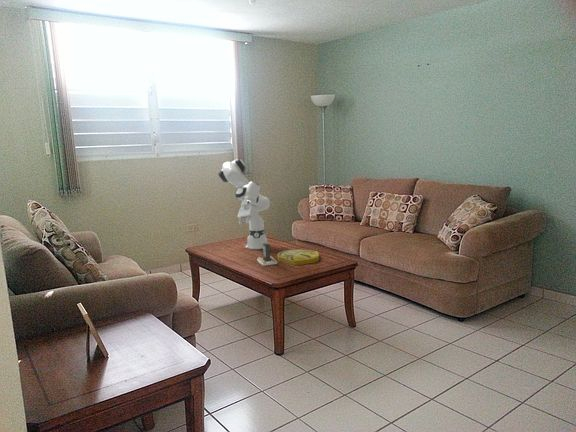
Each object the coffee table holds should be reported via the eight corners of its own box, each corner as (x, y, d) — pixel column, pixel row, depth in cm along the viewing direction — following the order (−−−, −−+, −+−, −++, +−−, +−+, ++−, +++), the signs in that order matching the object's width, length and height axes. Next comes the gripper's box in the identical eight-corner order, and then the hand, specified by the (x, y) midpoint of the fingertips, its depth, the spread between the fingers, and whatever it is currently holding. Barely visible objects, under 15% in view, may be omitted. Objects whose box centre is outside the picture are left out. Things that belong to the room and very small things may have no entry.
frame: (262, 259, 303) (262, 243, 301) (268, 258, 304) (268, 243, 302) (265, 261, 298) (264, 245, 296) (271, 260, 299) (270, 244, 297)
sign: (293, 247, 328) (327, 252, 310) (293, 251, 328) (327, 257, 310) (269, 256, 306) (304, 262, 288) (269, 260, 306) (304, 267, 288)
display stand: (257, 260, 305) (256, 257, 305) (270, 259, 309) (270, 255, 309) (263, 265, 294) (262, 261, 293) (277, 263, 297) (277, 259, 297)
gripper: (238, 204, 307) (232, 223, 304) (251, 201, 290) (246, 220, 287) (246, 207, 310) (240, 226, 307) (259, 204, 293) (254, 224, 290)
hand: (243, 223), depth 297 cm, fingers open, 8 cm apart
